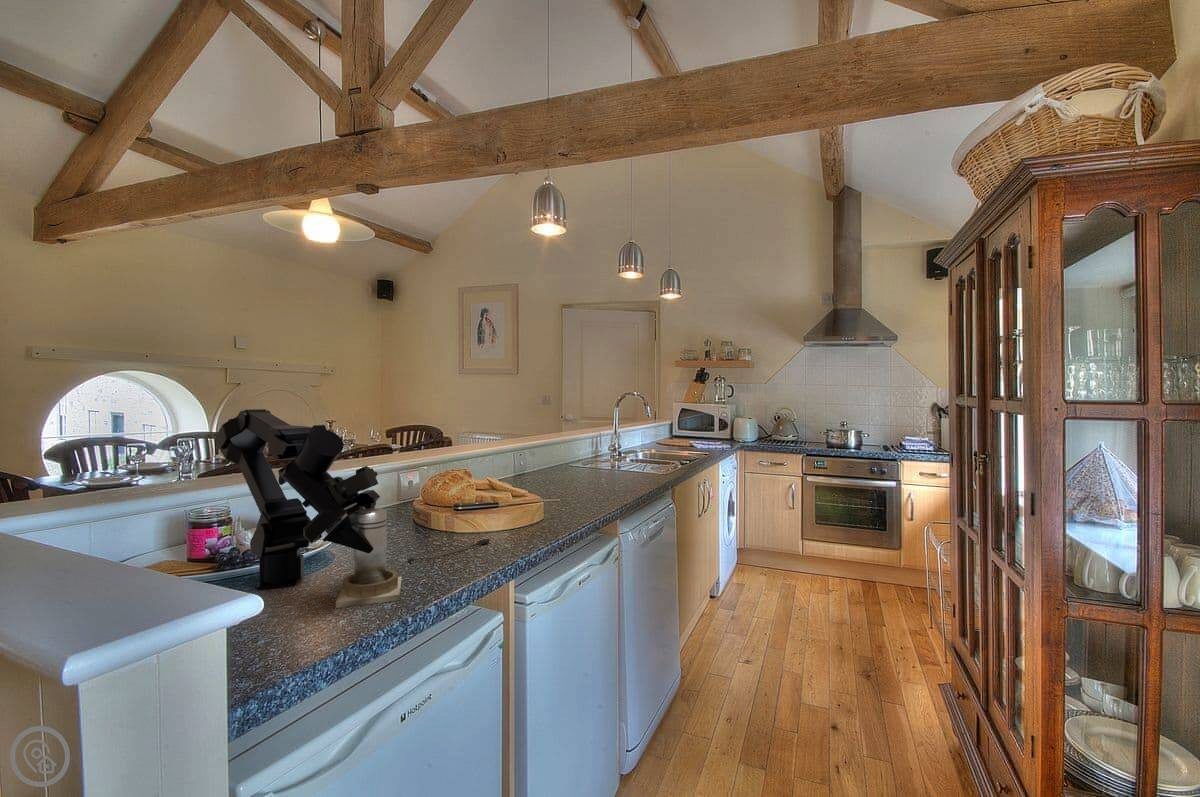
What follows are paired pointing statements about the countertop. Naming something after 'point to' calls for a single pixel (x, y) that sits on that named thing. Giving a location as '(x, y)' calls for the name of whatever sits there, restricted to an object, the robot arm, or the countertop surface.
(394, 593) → the ring collar
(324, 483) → the robot arm
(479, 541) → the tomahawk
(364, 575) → the salt shaker
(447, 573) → the countertop surface
